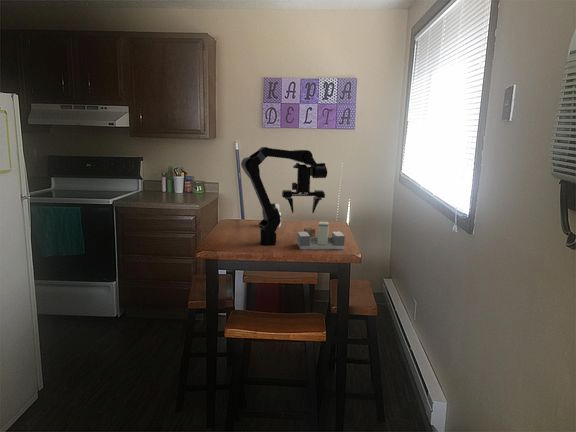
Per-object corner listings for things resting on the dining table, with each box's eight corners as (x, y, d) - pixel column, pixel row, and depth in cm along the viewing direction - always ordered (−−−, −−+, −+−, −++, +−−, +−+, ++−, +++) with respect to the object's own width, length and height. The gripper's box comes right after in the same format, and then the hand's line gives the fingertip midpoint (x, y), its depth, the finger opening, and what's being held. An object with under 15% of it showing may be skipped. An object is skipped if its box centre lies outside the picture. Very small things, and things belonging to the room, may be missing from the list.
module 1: (300, 245, 186) (300, 235, 185) (297, 241, 194) (297, 231, 193) (309, 245, 186) (309, 235, 186) (306, 241, 194) (306, 231, 194)
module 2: (335, 245, 188) (336, 235, 187) (331, 241, 196) (332, 231, 195) (344, 245, 188) (344, 235, 188) (339, 241, 196) (340, 231, 195)
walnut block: (307, 238, 208) (307, 229, 207) (303, 236, 211) (303, 228, 210) (315, 237, 209) (315, 229, 209) (311, 235, 213) (311, 227, 212)
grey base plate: (300, 249, 186) (300, 242, 185) (296, 243, 196) (297, 237, 195) (344, 249, 188) (344, 242, 188) (338, 243, 198) (339, 237, 197)
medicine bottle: (265, 227, 230) (265, 204, 228) (267, 224, 237) (268, 202, 235) (279, 228, 229) (279, 205, 227) (281, 225, 236) (281, 203, 234)
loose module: (317, 244, 190) (318, 223, 188) (318, 241, 194) (319, 221, 192) (327, 244, 189) (328, 224, 187) (327, 242, 194) (328, 222, 192)
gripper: (320, 177, 205) (319, 210, 208) (280, 176, 203) (280, 210, 205) (325, 179, 194) (324, 214, 197) (283, 178, 192) (282, 214, 194)
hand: (302, 213), depth 199 cm, fingers open, 9 cm apart
